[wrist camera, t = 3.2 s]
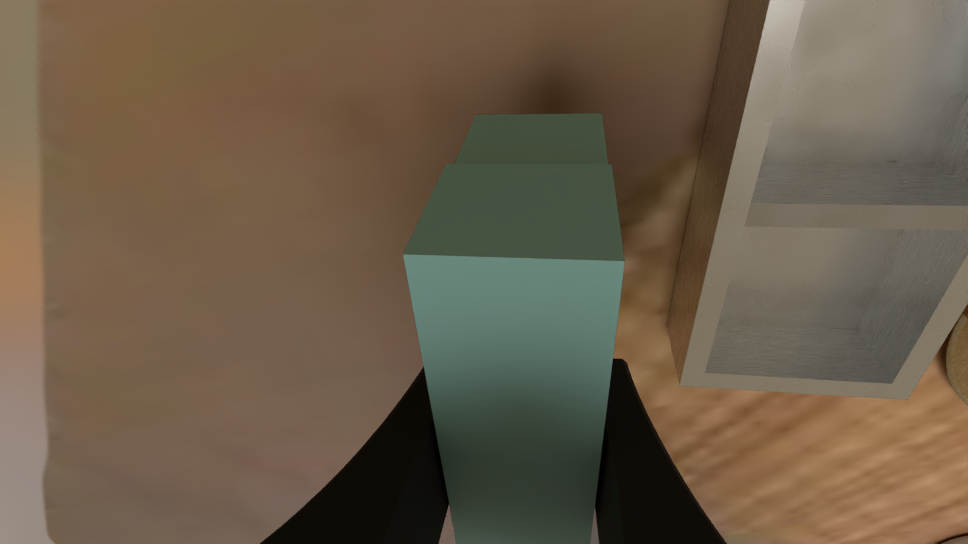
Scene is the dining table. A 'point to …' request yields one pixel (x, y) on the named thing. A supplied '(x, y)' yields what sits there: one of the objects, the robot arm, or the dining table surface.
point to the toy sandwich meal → (959, 356)
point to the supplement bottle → (957, 540)
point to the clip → (520, 323)
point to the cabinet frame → (828, 200)
